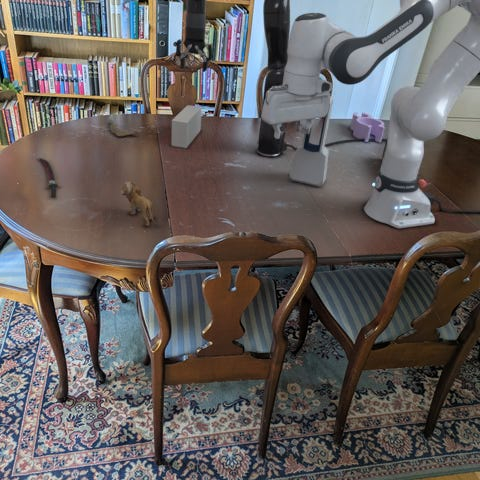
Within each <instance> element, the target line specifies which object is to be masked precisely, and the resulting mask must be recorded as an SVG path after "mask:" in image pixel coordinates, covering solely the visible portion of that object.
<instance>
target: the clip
mask: <svg viewBox="0 0 480 480" xmlns="http://www.w3.org/2000/svg"><path fill="white" fill-rule="evenodd" d="M358 114H359V113H358V112H353V114H352V118H351V122H350V126H349V129H350V130H351V131H353V132H352V136H353V137H354V138H355V139H365V140H364V141H363V142H364V143H368V142H369V141H368V140H369V139H370V135H372V136H374V139H375V141H374V142H376V143H382V141H381V140H382V139H383V137H384V132H385V129H386V127H385V122H384V121H383V120H380V119H377V118H374V117H372V115H371V114H369V113H366V112H361V115H358Z"/></svg>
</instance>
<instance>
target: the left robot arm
mask: <svg viewBox="0 0 480 480" xmlns="http://www.w3.org/2000/svg"><path fill="white" fill-rule="evenodd" d="M206 8H207V0H186V12H185V25H184V26H185V27H184V28H185V30H184V40H182V39H181V38H179V39H176V46H175V56H176V57H178V58H180V61H179V63H180V68H181V70H184V69H185V68H186V58H185V57H186V56H187V55H188V54H190V55H192V54H194V55H199V57H200V58H201V59H202V61H203V62H202V72H203V73H205V72H206V71H207V70H208V64H209V62H211V61H212V60H214V44H213V43H206V26H207V17H206V11H207V10H206ZM262 9H263V10H262V15H263V30H264V37H265V42H266V48H267V66H266V75H265V79H264V87H263V94H262V95H263V97H262V105H261V110H262V109H263V105H264V101H265V98H266V93H267V91H268V90H269V89H270V88H271V87H272V86H280V85H283V78H284V71H285V66H286V64H287V61H288V54H287V50H288V43H289V38H290V33H291V0H263V7H262ZM183 45H184V47H185V49H184V51H183V52H182V46H183ZM205 48H206V50H207V54H206V52H205ZM270 91H271V90H270ZM261 115H262V113H261V114H260V116H261ZM279 128H280V131H281V132H283V138H281V139H276V138H275V137H274V134H275V131H274V128H273V126H272V124H271V125H270V124H268V123H266V122H264V121H263V120H262V118H261V117H260V123H259V131H258V138H257V139H258V140H256V145H257V148H256V153H257V154H258V155H259V156H262V157H264V158H265V157H266V158H277V157H279V156H281V155H282V154H283V152H286V151H287V149H288V148H292V149H293V150H295V151H296V150H297V148H298V147H295V146H294V145H293V144H289V143H287V142H286V141H285V136H286V130H284V128H285V123H282V124H281V127H279ZM364 140H365V139H358V138H351V139H343V140H336V141H333V142H329V143H325V145H324V147H326V148H327V147H328V146H332V145H336V144H342V143H348V142H362V141H363V142H364ZM386 140H387V138H382V140H381V142H386ZM369 141H370V142H372V141H373V142H376V141H375V138H369V140H368V142H369Z"/></svg>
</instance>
